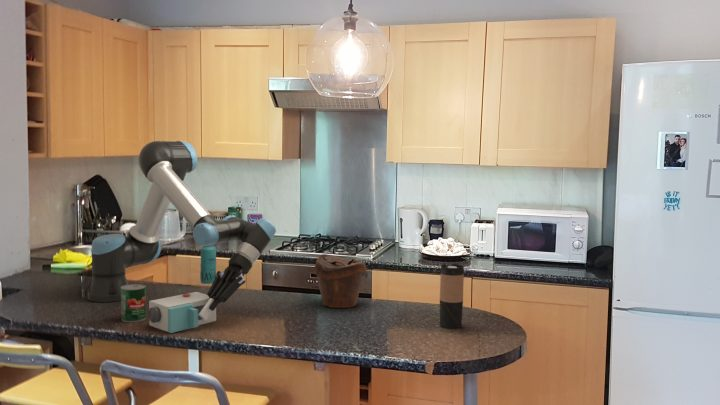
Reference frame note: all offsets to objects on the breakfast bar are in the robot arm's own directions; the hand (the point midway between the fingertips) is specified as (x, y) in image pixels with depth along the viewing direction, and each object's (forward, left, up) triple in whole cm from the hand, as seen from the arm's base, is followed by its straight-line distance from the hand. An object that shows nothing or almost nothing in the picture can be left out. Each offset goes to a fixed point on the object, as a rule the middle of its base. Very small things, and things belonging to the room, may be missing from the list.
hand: (202, 317), depth 205 cm
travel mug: (+75, +29, -4) cm, 81 cm away
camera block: (-9, +3, -4) cm, 10 cm away
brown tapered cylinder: (+32, +44, -4) cm, 55 cm away
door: (-4, -5, -3) cm, 7 cm away
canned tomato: (-27, +2, -4) cm, 27 cm away
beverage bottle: (-28, +54, -4) cm, 61 cm away
